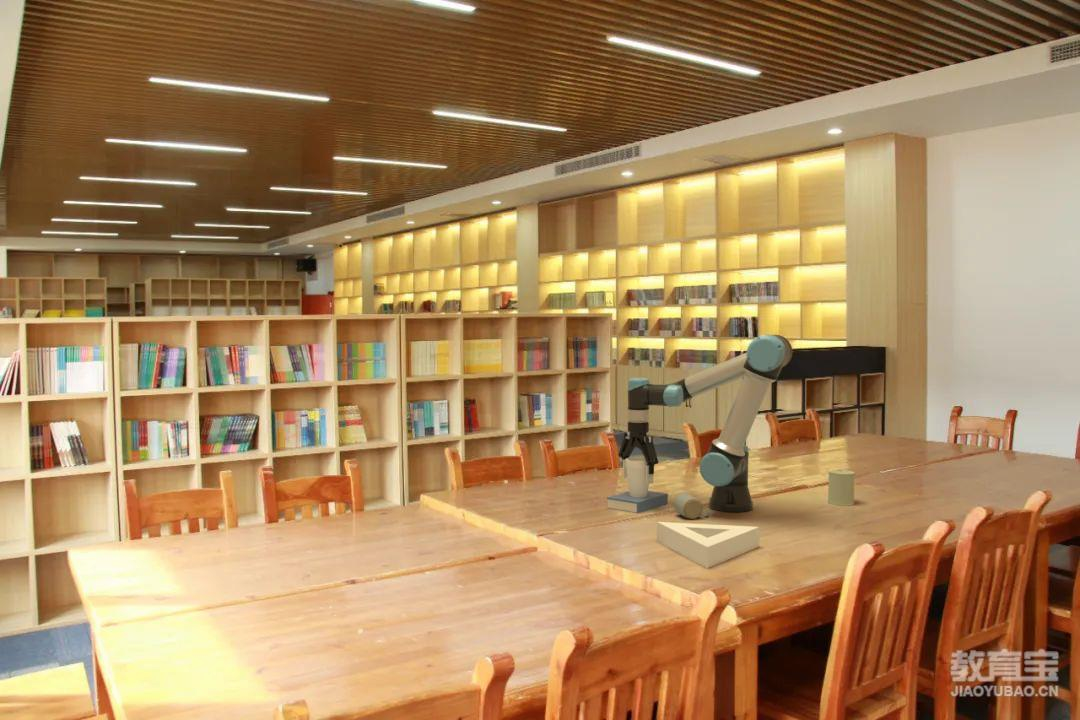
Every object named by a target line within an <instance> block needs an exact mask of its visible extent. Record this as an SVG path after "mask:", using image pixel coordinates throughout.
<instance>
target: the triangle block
mask: <svg viewBox="0 0 1080 720" xmlns="http://www.w3.org/2000/svg"><path fill="white" fill-rule="evenodd" d="M760 530H761V529H760V526H749V525H748V526H747V525H746V526H745V525H727V524H711V523H710V524H708V523H707V524H706V523H689V522H685V523H684V522H668V521H667V522H666V521H664V522H663V521H656V541H657V542H658V543H660V544H662V545H663V546H665V547H667V548H669V549H671V550H673V551H675V552H676V553H678V554H680V555H682V556H684V557H685V558H687V559H689V560H691V561H693V562H695V563H697V564H699V565H700V566H702V567H704V568H705V569H709V568H711V567H714V566H716V565H719V564H721V563H723V562H726V561H727V560H728V561H729V560H731V559H732V558H736V557H738V556H740V555H742V554H744V553H746V552H749V551H752V550H754V549H757V548H759V547H760Z"/></svg>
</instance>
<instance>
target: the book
mask: <svg viewBox="0 0 1080 720" xmlns="http://www.w3.org/2000/svg"><path fill="white" fill-rule="evenodd" d="M606 499H607V509H611V510H616V511H623V512H629V513H634V514H640V513H643V512H646V511H650V510H653V509H656V508H659V507H662V506H665V505H668V503H669V494H668V493H667V492H660V491H659V492H658V491H653V490H648V494H647V496H646V497H632V496H630V494H629V491H625V492H622V493H618V494H614V495H611V496H606Z"/></svg>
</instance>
